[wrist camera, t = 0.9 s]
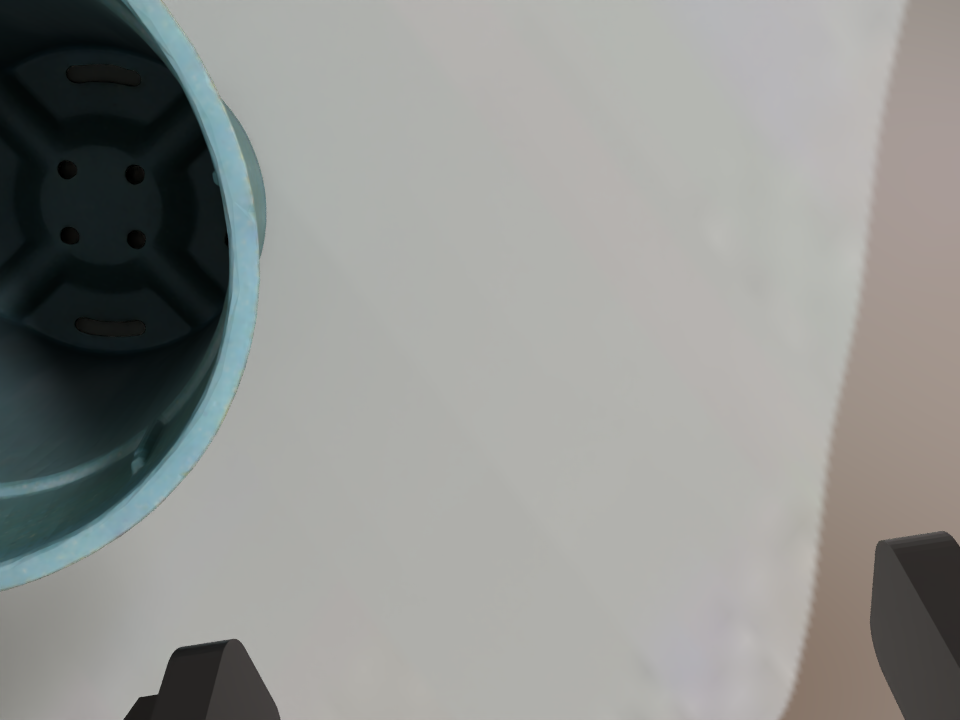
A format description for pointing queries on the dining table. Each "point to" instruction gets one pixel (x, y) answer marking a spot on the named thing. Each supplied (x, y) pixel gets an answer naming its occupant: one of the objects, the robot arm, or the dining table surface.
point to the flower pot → (113, 274)
